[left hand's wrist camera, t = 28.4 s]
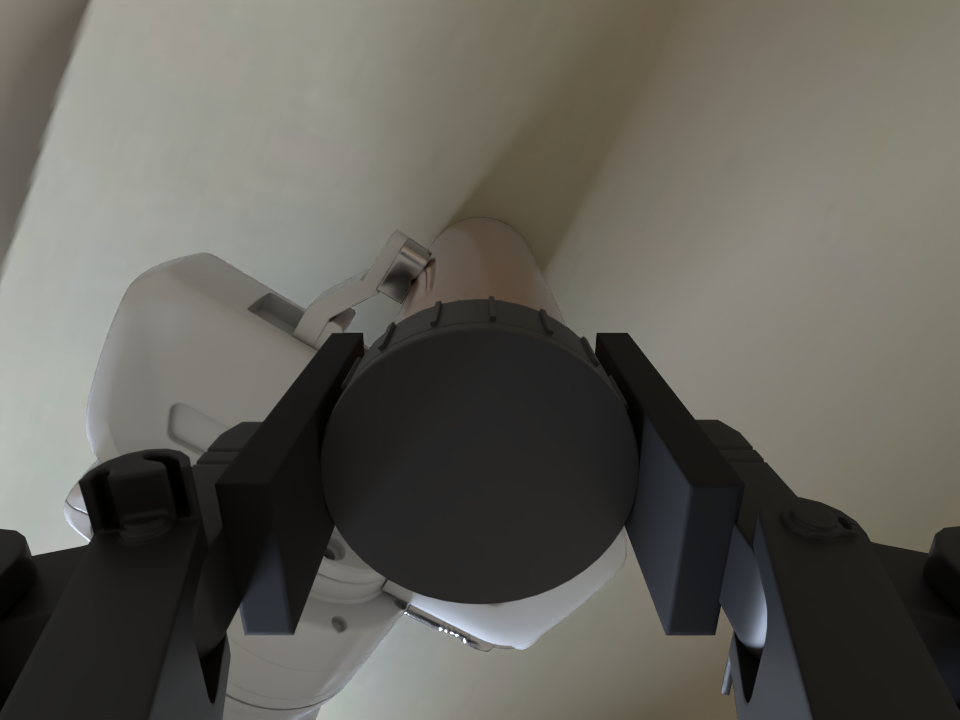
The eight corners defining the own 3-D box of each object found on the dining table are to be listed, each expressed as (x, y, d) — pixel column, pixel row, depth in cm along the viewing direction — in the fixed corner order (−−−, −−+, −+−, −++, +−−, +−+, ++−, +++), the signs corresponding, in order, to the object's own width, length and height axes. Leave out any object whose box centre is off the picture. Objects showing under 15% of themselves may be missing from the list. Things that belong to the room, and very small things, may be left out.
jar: (558, 270, 26) (662, 437, 11) (483, 348, 27) (488, 589, 13) (475, 192, 25) (469, 265, 10) (401, 278, 26) (298, 454, 11)
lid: (366, 262, 11) (343, 286, 9) (660, 336, 11) (695, 373, 9) (319, 513, 13) (293, 573, 11) (571, 565, 13) (584, 631, 11)
